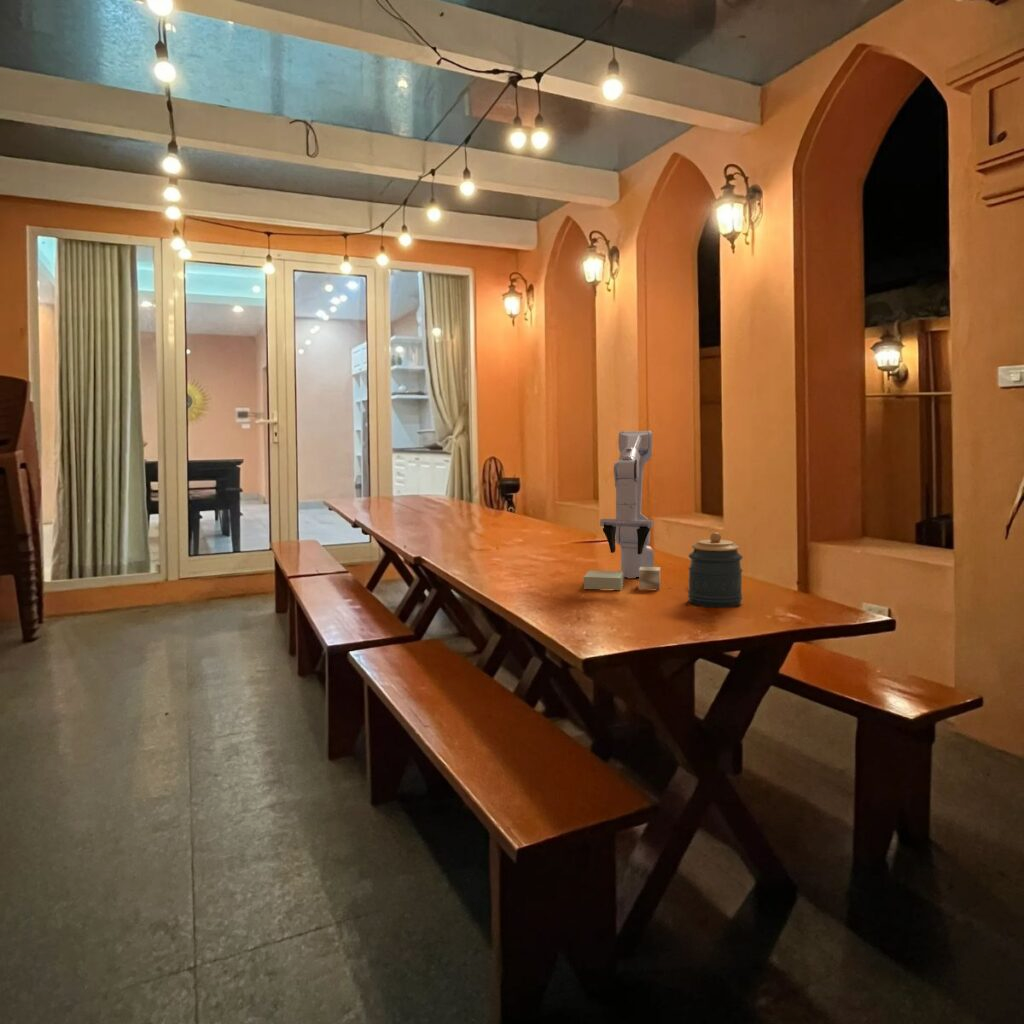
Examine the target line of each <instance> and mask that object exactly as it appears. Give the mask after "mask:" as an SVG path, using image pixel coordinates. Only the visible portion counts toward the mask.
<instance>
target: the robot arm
mask: <svg viewBox="0 0 1024 1024" xmlns="http://www.w3.org/2000/svg"><path fill="white" fill-rule="evenodd" d="M617 444H618V450H619V455H618V460H617V461H614V464H613V478H614V488H615V518H600V519H599V526H600V527H603V528H602V532H603V534H604V535H605V538H606V539H607V540H606V541H607V542H608V546H609V550H610V553H612V554H613V553H615V552H616V544H617V545H619V547H620V571H622V572H624V578H626V577H627V578H626V579H635V578H636V577H639V569H640V567H655V553H654V550H653V548H652V547H651V546H650V544H651V543H650V542H651V529H653V528H654V520H652V519H651V520H649V518H648V517H646V516H645V515H644V514H642V503H643V501H642V500H643V483H644V482H643V478H644V468H645V466H646V465H645V464H646V463H647V462H650V461H651V460H652V459H651V457H652V456H653V455H652V454H653V453H652V452H653V432H652V430H637V431H636V430H631V431H628V430H627V431H624V430H620V431H619V433H618V443H617Z"/></svg>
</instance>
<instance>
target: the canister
mask: <svg viewBox="0 0 1024 1024" xmlns="http://www.w3.org/2000/svg"><path fill="white" fill-rule="evenodd" d="M709 538H710V539H701V540H698V541H697V542H696V543H694V544H692V546H691V548H692V549H693V551H692V552H690V553H689V554H687V555H688V558H689V559H690V566H689V567H688V592H687V593H688V595H687V597H688V600H689V603H690V602H691V604H693V605H695V606H698V607H704V608H705V607H706V608H719V609H720V608H733V607H738V606H740V605H741V604H742V600H743V592H742V588H743V587H742V584H743V583H742V581H743V578H742V577H743V568H742V567H741V560H743V555H742V554H741V553H739V551H738V550H739V549H740V546H739V545H738V544H736V543H735V542H734V541H733V540H726V539H722V536H721V534H720V533H719V532H712V533H711V534H710V537H709Z"/></svg>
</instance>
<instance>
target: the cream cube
mask: <svg viewBox="0 0 1024 1024" xmlns="http://www.w3.org/2000/svg"><path fill="white" fill-rule="evenodd" d="M639 589H656V590H655V591H658V590H659V589H661V566H659V567H658V566H654V567H640V569H639V578H638V590H639ZM659 591H660V590H659Z"/></svg>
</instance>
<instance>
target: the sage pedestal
mask: <svg viewBox="0 0 1024 1024" xmlns="http://www.w3.org/2000/svg"><path fill="white" fill-rule="evenodd" d="M624 579H625V577H624V572H622V571H621V570H619V571H618V570H617V571H616V570H615V571H614V570H613V571H611V570H588V571H587V572H586V573H585V574H584V576H583V590H584V589H614V590H621V591H622V589H623V586H624V584H623V583H624ZM622 585H623V586H622ZM621 588H622V589H621Z"/></svg>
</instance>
